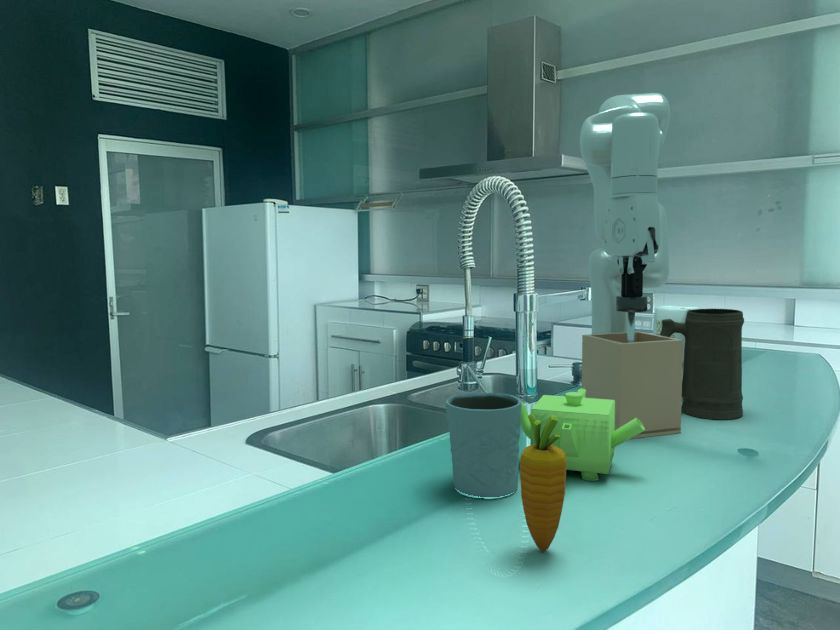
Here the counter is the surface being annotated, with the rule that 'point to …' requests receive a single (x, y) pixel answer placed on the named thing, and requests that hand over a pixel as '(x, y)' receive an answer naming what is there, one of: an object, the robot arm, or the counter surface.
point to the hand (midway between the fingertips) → (631, 296)
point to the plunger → (631, 311)
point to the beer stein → (711, 362)
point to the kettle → (582, 430)
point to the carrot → (543, 483)
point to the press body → (636, 378)
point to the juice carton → (676, 315)
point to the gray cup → (484, 442)
